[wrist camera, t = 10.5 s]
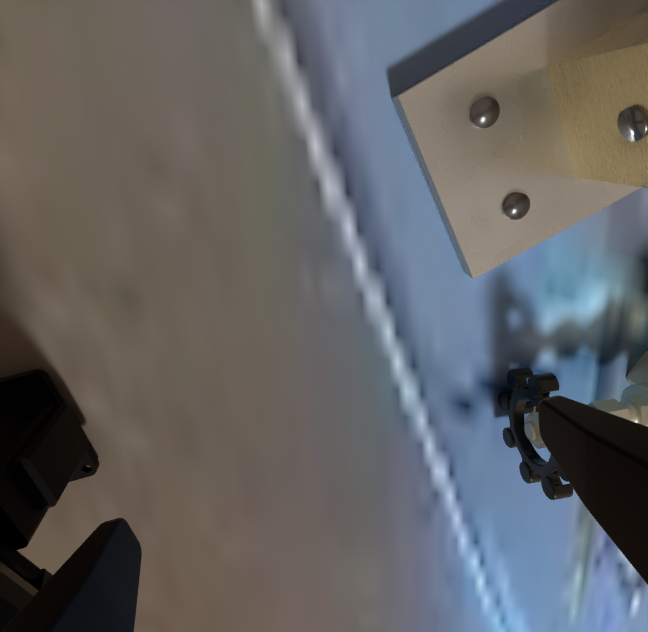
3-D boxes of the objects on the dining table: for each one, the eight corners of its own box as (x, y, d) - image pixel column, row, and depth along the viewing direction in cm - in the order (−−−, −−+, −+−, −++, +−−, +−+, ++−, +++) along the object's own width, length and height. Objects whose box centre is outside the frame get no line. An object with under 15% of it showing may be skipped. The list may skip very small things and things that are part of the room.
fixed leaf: (464, 272, 22) (555, 335, 15) (391, 98, 18) (467, 76, 12) (696, 145, 21) (907, 151, 14) (666, -66, 17) (927, -196, 11)
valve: (699, 316, 25) (500, 346, 24) (837, 373, 19) (579, 417, 18) (674, 411, 28) (494, 441, 27) (789, 488, 22) (561, 531, 21)
